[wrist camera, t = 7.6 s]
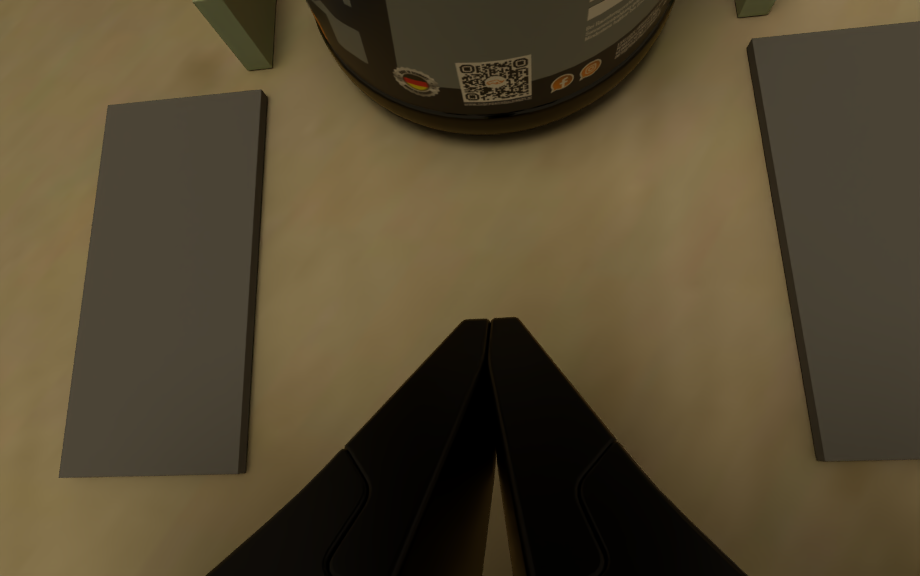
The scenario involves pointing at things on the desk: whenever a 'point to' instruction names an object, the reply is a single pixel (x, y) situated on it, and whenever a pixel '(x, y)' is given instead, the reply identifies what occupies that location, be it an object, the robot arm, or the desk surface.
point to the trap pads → (237, 242)
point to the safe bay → (253, 20)
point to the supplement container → (488, 56)
